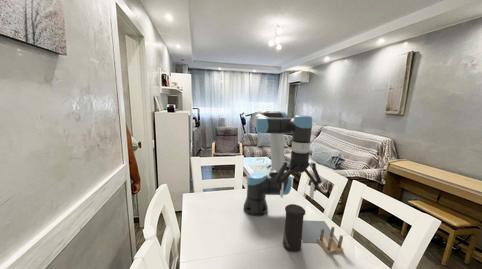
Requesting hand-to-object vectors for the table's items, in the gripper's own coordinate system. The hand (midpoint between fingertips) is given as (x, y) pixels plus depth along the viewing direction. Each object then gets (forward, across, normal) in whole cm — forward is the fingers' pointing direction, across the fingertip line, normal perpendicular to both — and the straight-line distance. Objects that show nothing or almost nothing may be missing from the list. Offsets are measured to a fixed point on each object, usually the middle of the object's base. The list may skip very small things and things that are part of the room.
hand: (296, 197), depth 88 cm
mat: (+25, +15, +11) cm, 31 cm away
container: (+25, 0, 0) cm, 25 cm away
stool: (+25, +18, +1) cm, 31 cm away
